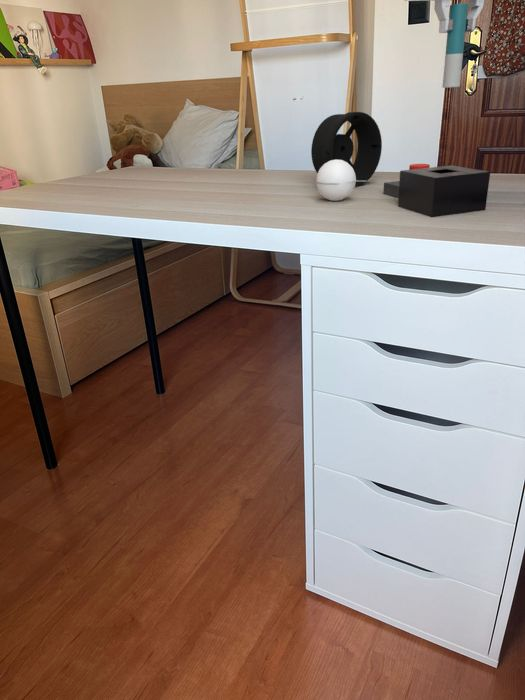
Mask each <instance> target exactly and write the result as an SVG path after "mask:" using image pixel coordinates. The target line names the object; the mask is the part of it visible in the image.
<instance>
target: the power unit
mask: <svg viewBox="0 0 525 700" xmlns="http://www.w3.org/2000/svg"><path fill="white" fill-rule="evenodd" d="M399 182H400V180H396V181H395V180H394V181H387V182H384V183H383V191H382V192H383V193H382V194H383V195H386V196H389V197H392V198H396V199H399Z"/></svg>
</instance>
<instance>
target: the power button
mask: <svg viewBox="0 0 525 700" xmlns="http://www.w3.org/2000/svg"><path fill="white" fill-rule="evenodd" d="M408 166H409V168H408V170H412V169H422V168H431V167H430V164H428V163H413V164H409V165H408Z"/></svg>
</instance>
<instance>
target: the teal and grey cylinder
mask: <svg viewBox="0 0 525 700" xmlns="http://www.w3.org/2000/svg"><path fill="white" fill-rule="evenodd" d="M468 4H469V3H467V2H462V3H460V2H459V3H453V4H449V12H448V15H449V19H454V22H453V25H452V26H453V30H452V32H449V33H446V45H445V56H444V67H443V77H442V78H443V79H442V88H443V89H446V88H460V86H461V77H462V68H463V57H464V51H465V50H464V48H465V39H466V32H465V30H466V21H467V16H468V10H469V8H468Z"/></svg>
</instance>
